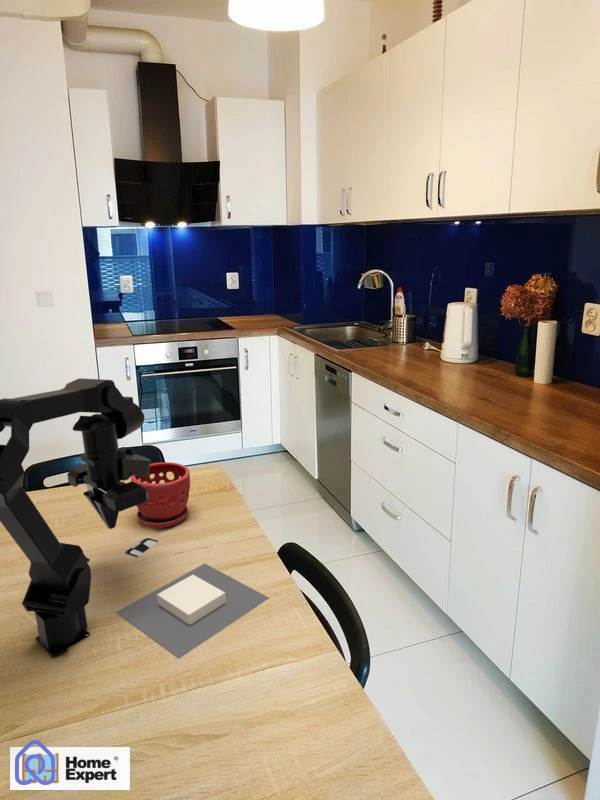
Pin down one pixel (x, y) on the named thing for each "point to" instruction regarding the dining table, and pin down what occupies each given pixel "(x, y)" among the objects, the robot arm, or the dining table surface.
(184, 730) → the dining table surface
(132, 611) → the mat
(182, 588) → the tile
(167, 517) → the plant pot
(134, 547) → the smartphone
